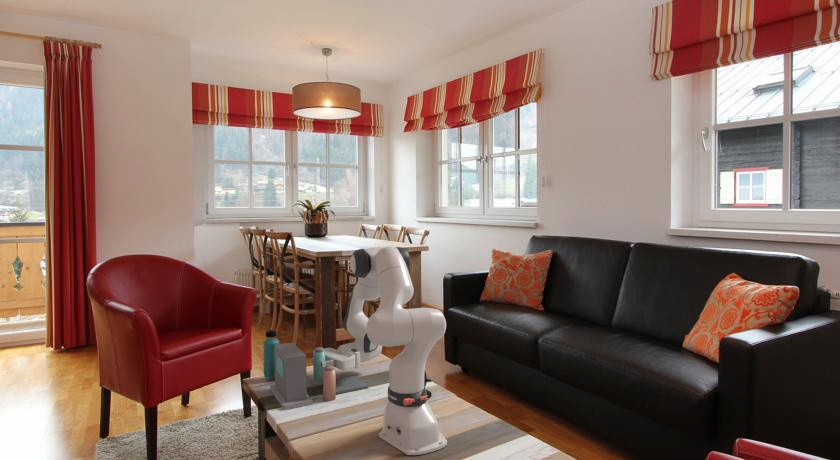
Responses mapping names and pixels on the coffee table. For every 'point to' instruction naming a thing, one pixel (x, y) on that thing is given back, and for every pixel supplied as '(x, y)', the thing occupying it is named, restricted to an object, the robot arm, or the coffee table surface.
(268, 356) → the beverage bottle
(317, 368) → the cylinder
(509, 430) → the coffee table surface
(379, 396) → the coffee table surface
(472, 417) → the coffee table surface
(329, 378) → the terracotta cartridge
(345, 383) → the pad
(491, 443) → the coffee table surface
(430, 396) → the webcam
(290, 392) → the block
